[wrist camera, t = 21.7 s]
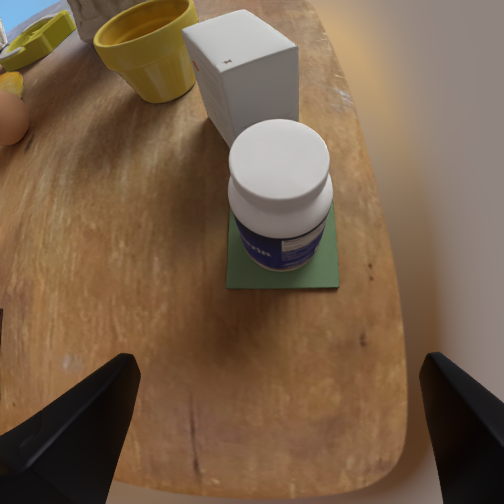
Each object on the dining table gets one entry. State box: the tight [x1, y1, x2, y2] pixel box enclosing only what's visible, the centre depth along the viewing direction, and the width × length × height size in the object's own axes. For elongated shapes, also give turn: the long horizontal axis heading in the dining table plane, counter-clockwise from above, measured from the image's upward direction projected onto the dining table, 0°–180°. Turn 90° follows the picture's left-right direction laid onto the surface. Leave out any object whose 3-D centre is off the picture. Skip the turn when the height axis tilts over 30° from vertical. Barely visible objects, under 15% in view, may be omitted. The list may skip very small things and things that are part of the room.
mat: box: [226, 198, 339, 289], centre depth 23 cm, size 8×8×1 cm
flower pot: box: [93, 0, 199, 103], centre depth 26 cm, size 10×10×10 cm
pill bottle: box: [228, 119, 333, 272], centre depth 18 cm, size 6×6×10 cm
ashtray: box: [0, 10, 76, 72], centre depth 42 cm, size 16×21×5 cm
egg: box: [0, 91, 29, 146], centre depth 28 cm, size 7×7×9 cm
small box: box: [181, 9, 299, 149], centre depth 22 cm, size 8×6×10 cm
